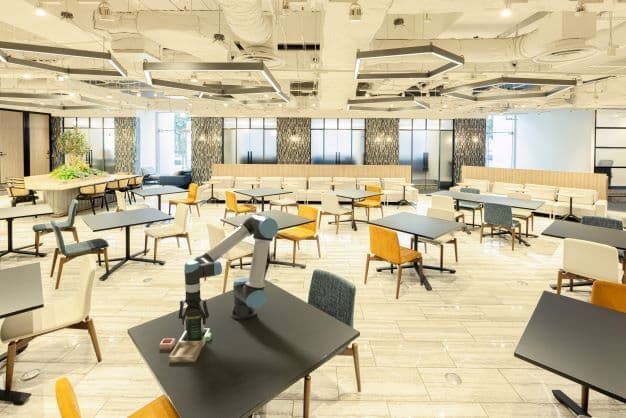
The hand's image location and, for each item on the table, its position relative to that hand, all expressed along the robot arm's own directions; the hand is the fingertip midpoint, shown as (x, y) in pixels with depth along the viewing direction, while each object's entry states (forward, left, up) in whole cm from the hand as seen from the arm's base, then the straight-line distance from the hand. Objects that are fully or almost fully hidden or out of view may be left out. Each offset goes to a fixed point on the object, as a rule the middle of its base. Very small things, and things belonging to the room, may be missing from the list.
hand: (194, 330), depth 200 cm
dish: (+12, +7, -5) cm, 15 cm away
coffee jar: (0, 0, -6) cm, 6 cm away
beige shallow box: (0, +15, -5) cm, 16 cm away
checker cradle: (0, 0, -5) cm, 5 cm away
